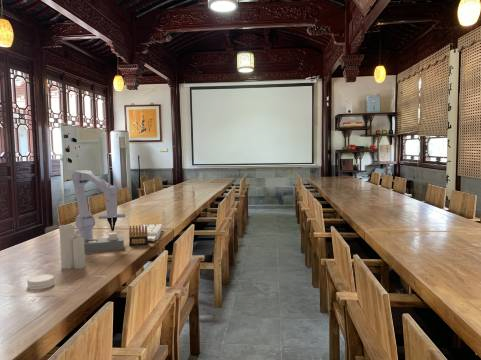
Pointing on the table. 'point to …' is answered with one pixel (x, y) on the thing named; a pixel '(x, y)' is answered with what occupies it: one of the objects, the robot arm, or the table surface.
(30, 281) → the coaster
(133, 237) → the ammunition clip
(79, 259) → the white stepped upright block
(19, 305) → the table surface
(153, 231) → the organizer
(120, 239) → the block
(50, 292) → the table surface
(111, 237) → the peg right
